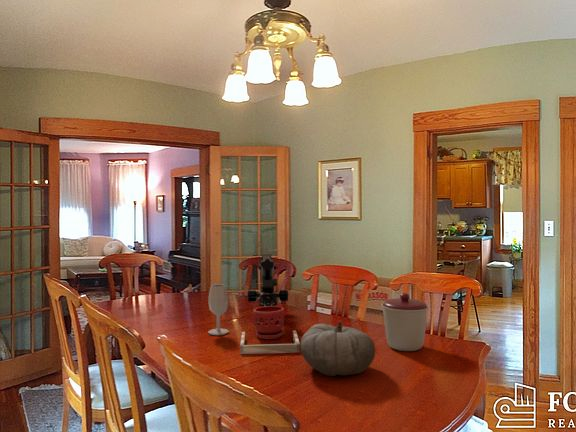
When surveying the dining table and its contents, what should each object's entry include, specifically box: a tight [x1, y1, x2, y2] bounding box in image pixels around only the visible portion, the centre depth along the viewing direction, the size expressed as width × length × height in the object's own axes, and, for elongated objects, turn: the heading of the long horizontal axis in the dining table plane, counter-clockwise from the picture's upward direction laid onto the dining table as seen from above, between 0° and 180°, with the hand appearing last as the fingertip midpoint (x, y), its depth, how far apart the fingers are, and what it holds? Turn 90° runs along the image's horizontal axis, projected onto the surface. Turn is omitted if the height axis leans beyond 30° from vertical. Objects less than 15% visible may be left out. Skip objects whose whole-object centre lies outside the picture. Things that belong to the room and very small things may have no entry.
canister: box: [380, 292, 430, 352], centre depth 171 cm, size 18×18×21 cm
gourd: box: [300, 320, 376, 377], centre depth 148 cm, size 25×25×17 cm
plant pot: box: [252, 305, 285, 340], centre depth 187 cm, size 13×13×12 cm
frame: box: [239, 330, 301, 355], centre depth 175 cm, size 19×22×3 cm
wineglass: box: [207, 283, 230, 336], centre depth 193 cm, size 9×9×21 cm
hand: (268, 311), depth 199 cm, fingers closed
